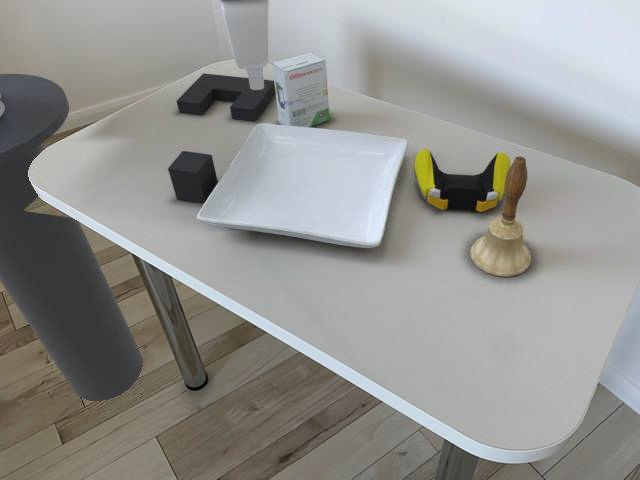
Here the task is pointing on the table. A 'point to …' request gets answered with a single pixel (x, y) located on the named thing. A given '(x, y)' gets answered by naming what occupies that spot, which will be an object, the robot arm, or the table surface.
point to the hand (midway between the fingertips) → (257, 70)
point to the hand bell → (505, 232)
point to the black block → (193, 176)
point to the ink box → (301, 90)
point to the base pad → (227, 96)
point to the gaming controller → (461, 184)
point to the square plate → (309, 185)
